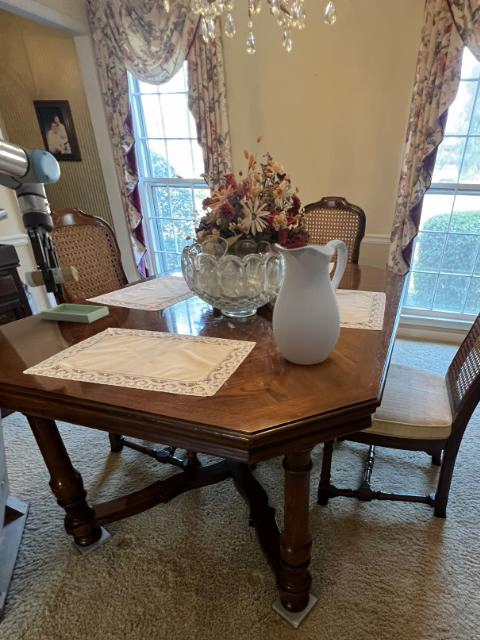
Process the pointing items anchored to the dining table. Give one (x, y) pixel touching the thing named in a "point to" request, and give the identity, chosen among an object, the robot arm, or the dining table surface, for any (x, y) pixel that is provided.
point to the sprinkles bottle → (59, 275)
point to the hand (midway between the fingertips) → (55, 293)
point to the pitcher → (309, 303)
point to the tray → (75, 313)
